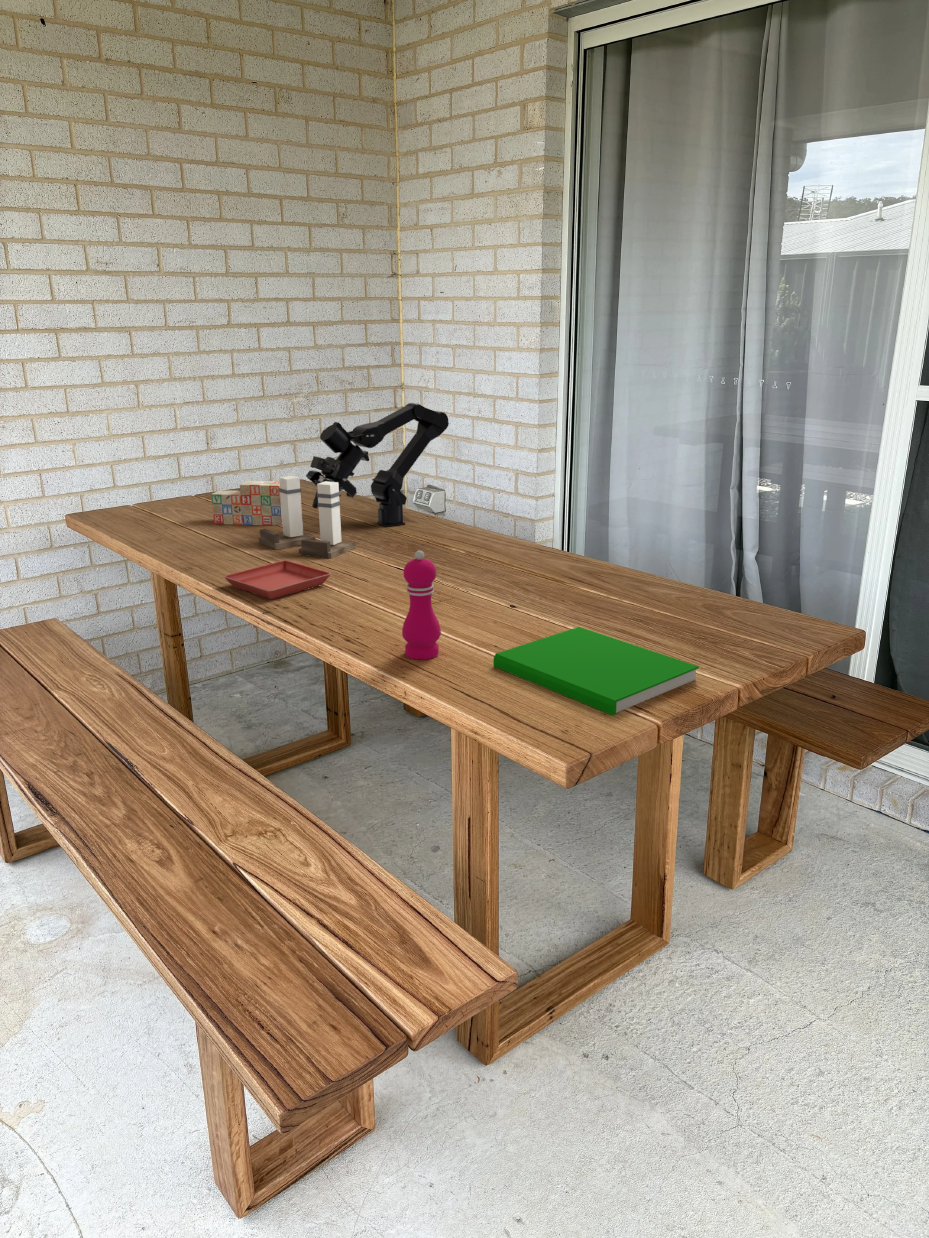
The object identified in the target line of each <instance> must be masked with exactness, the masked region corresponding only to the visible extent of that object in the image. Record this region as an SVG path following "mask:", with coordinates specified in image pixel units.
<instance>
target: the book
mask: <svg viewBox="0 0 929 1238" xmlns="http://www.w3.org/2000/svg"><path fill="white" fill-rule="evenodd" d="M493 667H494V668H496V669H499V670H501V671H503V672H505V673H508V674H511V675H513V676H515V677H518V678H521V679H523V680H526V681H527V682H530V683H533V684H535V685H538V686H540V687H543V688H545V689H547V690H550V691H551V692H555V693H557V694H559V695H562V696H564V697H567V698H569V699H572V700H574V701H577V702H579V703H581V704H584V705H586V706H588V707H591V708H594V709H595V710H598V711H601V712H603V713H606V714H608V715H611V716H615V715H617V713H619V712H622V711H624V710H626V709H628V708H631V707H634V706H635V705H639V704H641V703H643V702H645V700H646V701H648V700H650V699H652V698H656V697H657V696H660V695H662V694H664V693H666V692H669V691H672V690H674V689H676V688H679V687H681V686H684V685H687V684H688V683H691V682H693V681H695V680H696V677H697V676H696V674H697V670H698V669H700V666H699V665H696V664H692V663H691V662H690V663H689V662H686V661H684V660H680V659H678V658H674V657H672V656H668V655H666V654H662V653H659V652H656V651H653V650H651V649H648V648H645V647H641V646H639V645H636V644H632V643H629V642H626V641H623V640H622V639H621V640H620V639H617V638H614V637H611V636H609V635H605V634H602V633H599V632H597V631H594V630H591V629H587V628H584V627H581V626H577V627H573V628H570V629H568V630H565V631H561V632H558V633H554V634H552V635H549V636H545V637H542V638H539V639H537V640H533V641H531V642H527V643H525V644H522V645H518V646H515V647H512V648H509V649H506V650H503V651H500V652H497V653H495V655H494V656H493Z"/></svg>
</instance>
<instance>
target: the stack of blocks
mask: <svg viewBox="0 0 929 1238" xmlns="http://www.w3.org/2000/svg"><path fill="white" fill-rule="evenodd" d="M279 488H280V483H279V481H273V480H266V481H265V480H264V481H263V480H262V481H261V480H245V481H243V482H242V483H240V484H239V490H224V489H223V490H217V491H214V492H213V493H211V494H210V497H211V505H212V506H211V507H212V514H213V515H212V516H213V524H214V525H237V526H276V525H282V526H283V523H282V510H281V496H280V492H279Z"/></svg>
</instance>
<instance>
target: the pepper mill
mask: <svg viewBox="0 0 929 1238" xmlns="http://www.w3.org/2000/svg"><path fill="white" fill-rule="evenodd" d="M436 577H437V569H436V566H435V564H434V563H433V562H432V561H431V560H429V559H427V558H425V552H423V551H422V550H417V551H415V553H414V558H413V559H411V560H409V561H408V562H406V564H405V566H404V568H403V578H404V580H405V581H406V582H407V584H406V593H407V594H408V595H409V608H408V612H407V614H406V617H405V619H404V621H403V625H402V630H401V631H402V632H401V636H402V638H403V639H404V641H405V642H406V644H405V645H404V647H405V648H404V650H405V651H404V652H405V653H404V654H405V656H406V658H409V659H413V660H429V659H433V658H435V657H438V655H439V649H440V648H439V643H438V642H437V641H438V640H439V639H440V637H441V634H442V631H441V624H440V622H439V619H438V618H437V616H436V614H435V612H434V609H433V605H432V604H433V603H432V594H434V593H435V589H434V588H435V585H434V584H433V582H434V581H435V579H436Z"/></svg>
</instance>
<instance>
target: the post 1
mask: <svg viewBox="0 0 929 1238" xmlns="http://www.w3.org/2000/svg"><path fill="white" fill-rule="evenodd" d="M278 480H279V481H278V482H279V483H280V488H279V492H280V496H281V510H282V523H283V525H282V534H283V535H285V536H288V537H296V536H301V535H303V533H304V528H303V527H304V526H303V525H304V524H303V523H304V522H303V510H302V497H301V493H302V488H301V482H300V481H301V480H300V477H299V476H295V475H286V476H280V477H279V478H278Z"/></svg>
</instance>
